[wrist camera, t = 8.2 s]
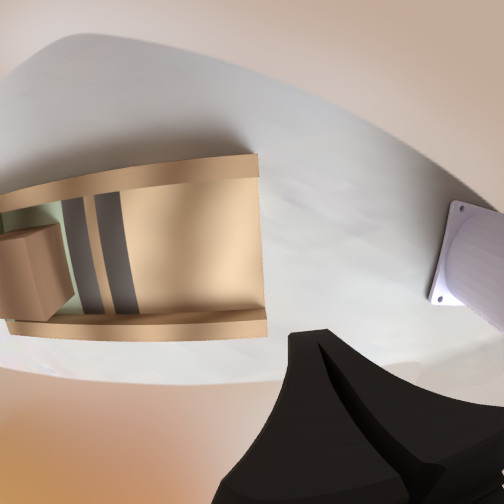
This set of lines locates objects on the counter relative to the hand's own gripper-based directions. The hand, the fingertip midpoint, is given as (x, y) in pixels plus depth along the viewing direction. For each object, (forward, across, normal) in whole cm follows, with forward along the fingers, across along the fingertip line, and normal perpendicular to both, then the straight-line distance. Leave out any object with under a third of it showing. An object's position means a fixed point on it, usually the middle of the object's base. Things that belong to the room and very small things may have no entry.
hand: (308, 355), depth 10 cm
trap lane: (+10, +11, -2) cm, 15 cm away
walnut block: (+9, +16, -2) cm, 19 cm away
